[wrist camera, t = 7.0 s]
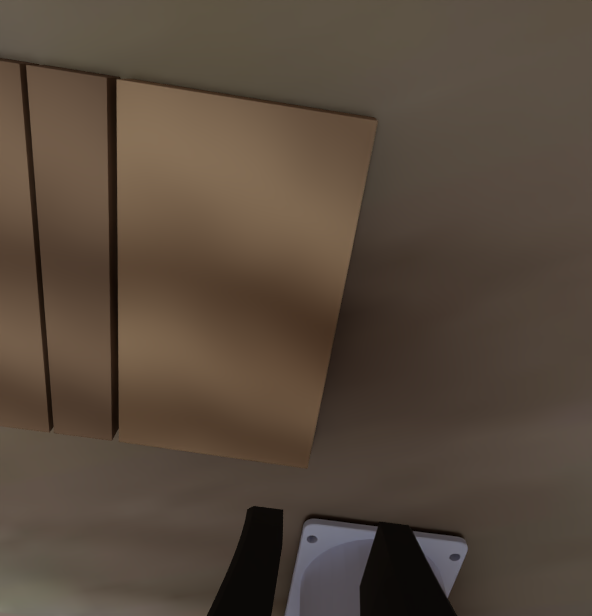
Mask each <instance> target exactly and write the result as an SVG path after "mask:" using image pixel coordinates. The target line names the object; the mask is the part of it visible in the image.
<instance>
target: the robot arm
mask: <svg viewBox="0 0 592 616" xmlns="http://www.w3.org/2000/svg"><path fill="white" fill-rule="evenodd" d="M282 540H283V510H281V509H273V508H265V507H257V506H253V507H251V508H249V509H247V514H246V519H245V523H244V527H243V530H242V534H241V537H240V540H239V543H238V546H237V548H236V551H235V554H234V556H233V559H232V561H231V564H230V566H229V569H228V571H227V573H226V576H225V578H224V580H223V582H222V584H221V587H220V589H219V591H218V593H217V595H216V598H215V600H214V602H213V604H212V606H211V608H210V610H209V612H208V614H207V616H271V613H272V607H273V601H274V594H275V588H276V582H277V575H278V569H279V562H280V556H281V550H282ZM467 551H468V546H467V543H466V541H465V540H464V539H463V538H461V537H456V536H448V535H441V534H433V533H425V532H417V531H412V529H411V528H410V527H409V525H401V524H393V523H385V522H379V525H378V526H370V525H362V524H354V523H346V522H338V521H331V520H323V519H309V520H307V521H306V522H305V523H304V525H303V529H302V534H301V539H300V543H299V548H298V553H297V558H296V562H295V567H294V572H293V576H292V581H291V586H290V591H289V595H288V600H287V605H286V610H285V614H284V616H457V615H456V613H455V611H454V610H453V608H452V606H451V604H450V602H449V601H448V596H449V594H450V591H451V589H452V587H453V584H454V582H455V580H456V577H457V575H458V572H459V570H460V568H461V565H462V563H463V560H464V558H465V556H466V553H467Z"/></svg>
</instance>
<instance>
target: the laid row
mask: <svg viewBox="0 0 592 616" xmlns="http://www.w3.org/2000/svg"><path fill="white" fill-rule="evenodd" d="M117 79H120V77H116V76H110V75H104V74H97V73H91V72H85V71H78V70H72V69H66V68H59V67H53V66H47V65H39V64H34V63H28V62H22V61H15V60H9V59H3V58H0V426H3V427H11V428H18V429H26V430H34V431H41V432H50V431H51V430H52V428H53V427H54V433H56V434H64V435H72V436H79V437H87V438H95V439H102V440H110V441H112V439H113V438H114V436H115V434H116V432H117V430H118V428H119V370H118V222H117Z"/></svg>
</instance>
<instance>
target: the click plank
mask: <svg viewBox="0 0 592 616" xmlns="http://www.w3.org/2000/svg"><path fill="white" fill-rule="evenodd" d="M377 123H378V121H377V120H376V119H375V118H373V117H367V116H361V115H354V114H348V113H342V112H336V111H329V110H323V109H317V108H311V107H304V106H298V105H292V104H285V103H279V102H273V101H267V100H260V99H254V98H248V97H242V96H235V95H229V94H223V93H217V92H210V91H204V90H198V89H192V88H185V87H179V86H173V85H166V84H160V83H154V82H148V81H141V80H135V79H117V222H118V370H119V442H125V443H132V444H139V445H146V446H153V447H160V448H167V449H174V450H181V451H187V452H194V453H201V454H208V455H215V456H222V457H229V458H236V459H243V460H250V461H257V462H264V463H271V464H278V465H285V466H292V467H299V468H306V469H307V468H308V463H309V458H310V453H311V449H312V444H313V439H314V434H315V429H316V424H317V419H318V414H319V409H320V404H321V399H322V394H323V389H324V384H325V380H326V375H327V370H328V365H329V360H330V355H331V350H332V345H333V340H334V335H335V330H336V325H337V320H338V316H339V311H340V306H341V301H342V296H343V291H344V286H345V281H346V276H347V271H348V266H349V261H350V256H351V252H352V247H353V242H354V237H355V232H356V227H357V222H358V217H359V212H360V207H361V202H362V197H363V192H364V187H365V183H366V178H367V173H368V168H369V163H370V158H371V153H372V148H373V143H374V138H375V133H376V128H377Z"/></svg>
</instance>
